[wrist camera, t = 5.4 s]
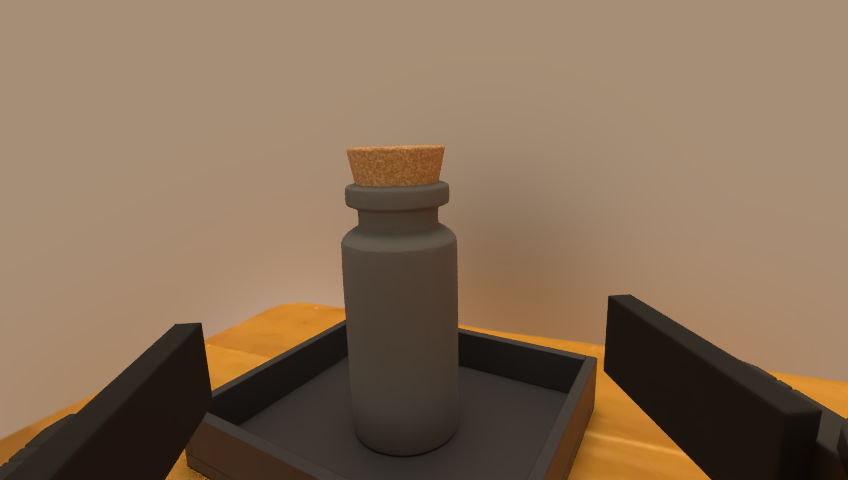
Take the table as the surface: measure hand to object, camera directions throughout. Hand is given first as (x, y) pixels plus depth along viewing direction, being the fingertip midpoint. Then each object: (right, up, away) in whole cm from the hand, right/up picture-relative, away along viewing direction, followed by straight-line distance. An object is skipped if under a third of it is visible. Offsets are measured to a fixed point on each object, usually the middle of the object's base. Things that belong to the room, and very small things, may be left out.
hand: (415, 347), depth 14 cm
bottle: (-1, -7, +10) cm, 12 cm away
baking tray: (-1, -7, +11) cm, 13 cm away
